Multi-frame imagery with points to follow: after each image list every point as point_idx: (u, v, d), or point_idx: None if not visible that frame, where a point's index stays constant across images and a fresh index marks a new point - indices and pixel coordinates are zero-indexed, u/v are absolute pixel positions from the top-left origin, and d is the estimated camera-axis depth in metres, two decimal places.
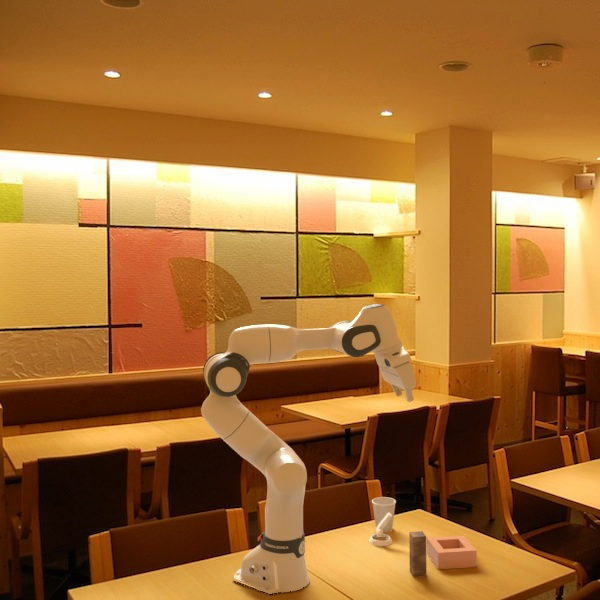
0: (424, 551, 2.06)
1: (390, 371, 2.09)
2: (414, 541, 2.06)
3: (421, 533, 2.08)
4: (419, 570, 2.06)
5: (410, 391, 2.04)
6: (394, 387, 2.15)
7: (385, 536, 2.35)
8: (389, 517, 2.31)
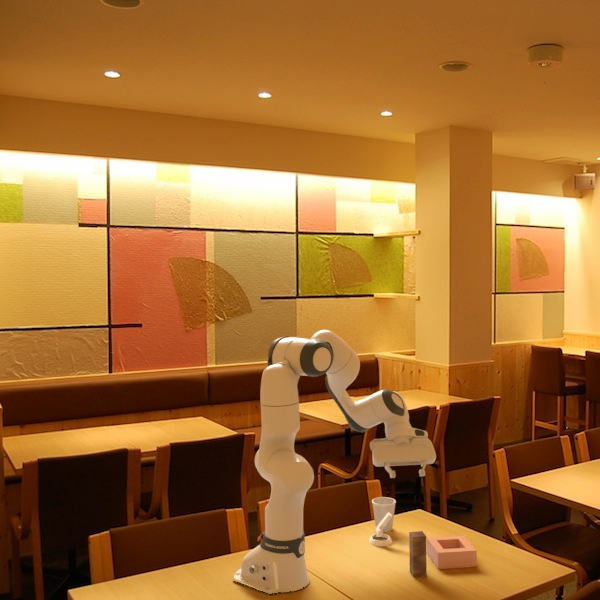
0: (424, 551, 2.06)
1: (403, 447, 2.25)
2: (414, 541, 2.06)
3: (421, 533, 2.08)
4: (419, 570, 2.06)
5: None
6: None
7: (385, 536, 2.35)
8: (389, 517, 2.31)
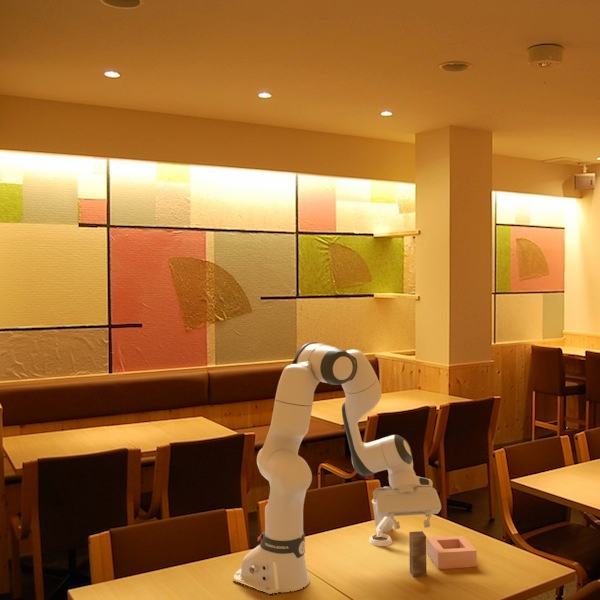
0: (424, 551, 2.06)
1: (407, 497, 2.19)
2: (414, 541, 2.06)
3: (421, 533, 2.08)
4: (419, 570, 2.06)
5: None
6: None
7: (385, 536, 2.35)
8: None
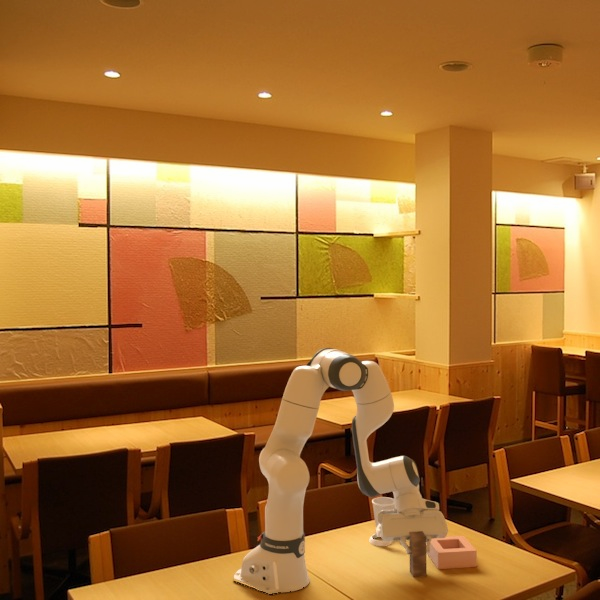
0: (424, 551, 2.06)
1: (413, 520, 2.13)
2: (414, 541, 2.06)
3: (421, 533, 2.08)
4: (419, 570, 2.06)
5: None
6: None
7: None
8: None
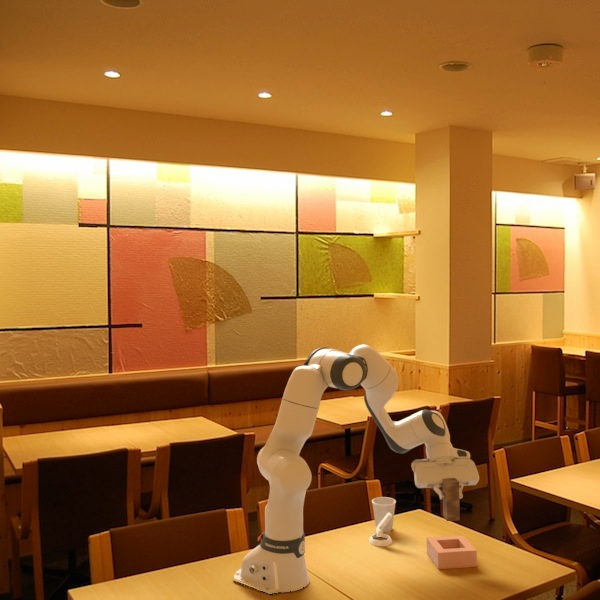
0: (457, 496, 2.15)
1: (446, 468, 2.21)
2: (447, 486, 2.15)
3: (454, 479, 2.17)
4: (452, 514, 2.15)
5: None
6: None
7: (385, 536, 2.35)
8: (389, 517, 2.31)
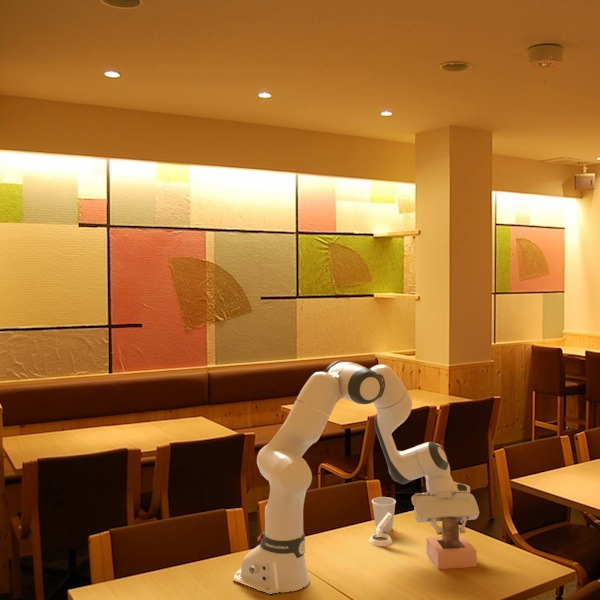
0: (457, 536, 2.16)
1: (446, 503, 2.22)
2: (447, 526, 2.15)
3: (453, 519, 2.18)
4: None
5: None
6: None
7: (385, 536, 2.35)
8: (389, 517, 2.31)
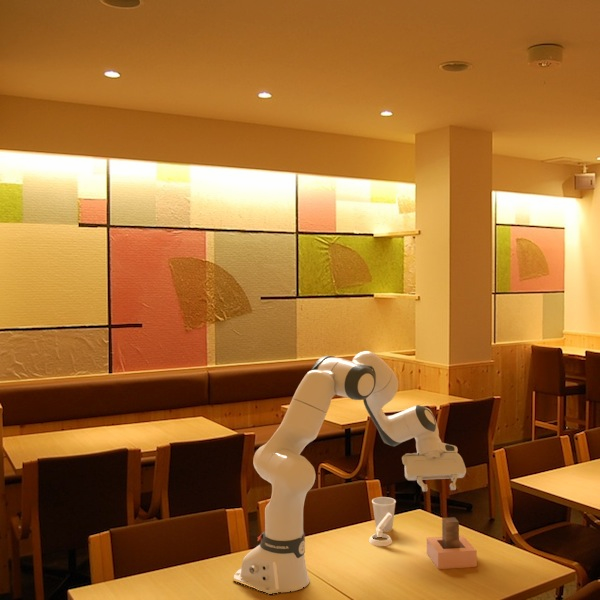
0: (457, 536, 2.16)
1: (434, 462, 2.34)
2: (447, 526, 2.15)
3: (454, 519, 2.18)
4: None
5: None
6: None
7: (385, 536, 2.35)
8: (389, 517, 2.31)
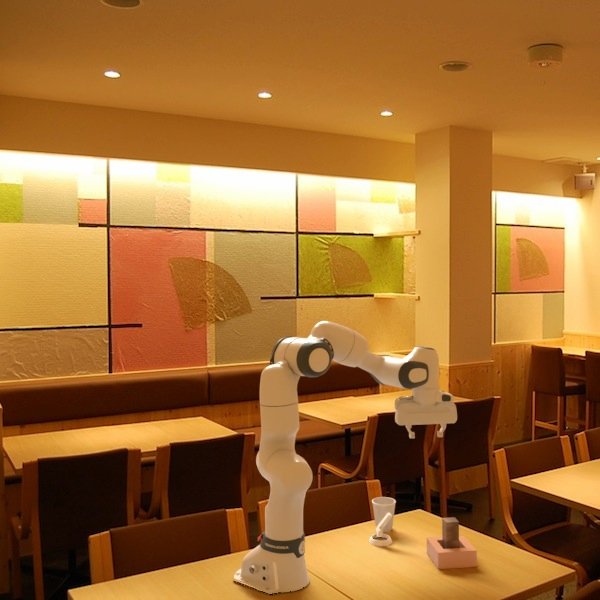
0: (457, 536, 2.16)
1: (427, 410, 2.28)
2: (447, 526, 2.15)
3: (454, 519, 2.18)
4: None
5: None
6: (410, 430, 2.29)
7: (385, 536, 2.35)
8: (389, 517, 2.31)
